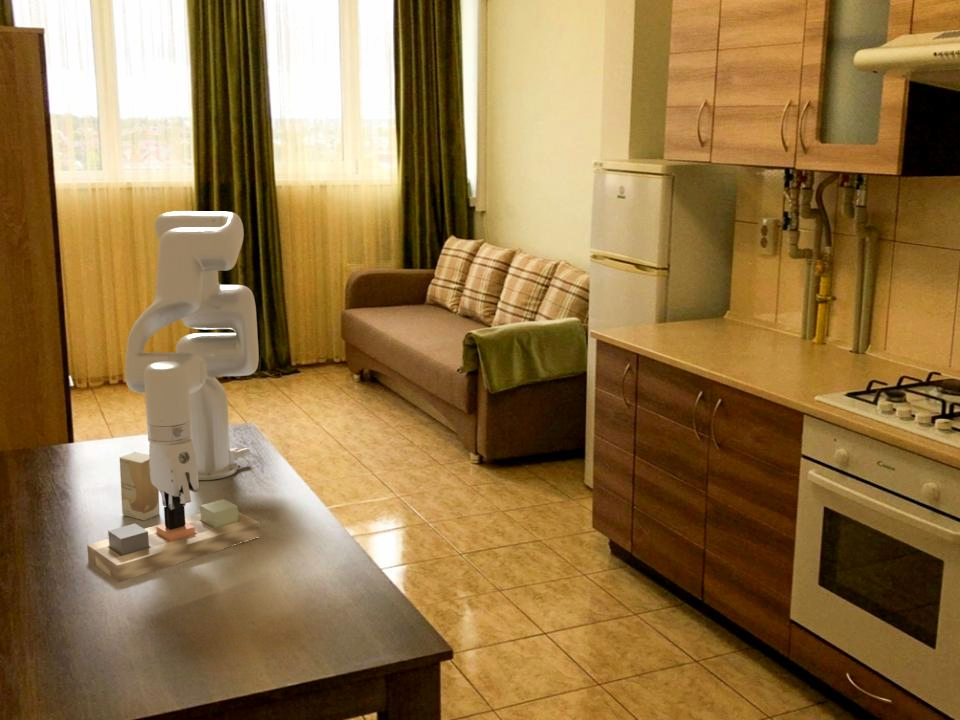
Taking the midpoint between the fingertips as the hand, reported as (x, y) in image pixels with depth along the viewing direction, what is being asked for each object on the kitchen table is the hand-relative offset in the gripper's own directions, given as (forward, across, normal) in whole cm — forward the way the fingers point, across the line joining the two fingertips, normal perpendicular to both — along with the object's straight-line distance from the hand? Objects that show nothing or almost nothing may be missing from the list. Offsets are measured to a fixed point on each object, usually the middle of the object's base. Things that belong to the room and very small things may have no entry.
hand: (175, 526), depth 187 cm
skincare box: (+4, +20, -3) cm, 21 cm away
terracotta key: (+4, 0, 0) cm, 4 cm away
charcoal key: (+2, 0, +9) cm, 9 cm away
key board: (+4, 0, 0) cm, 4 cm away
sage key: (+2, 0, -9) cm, 9 cm away
